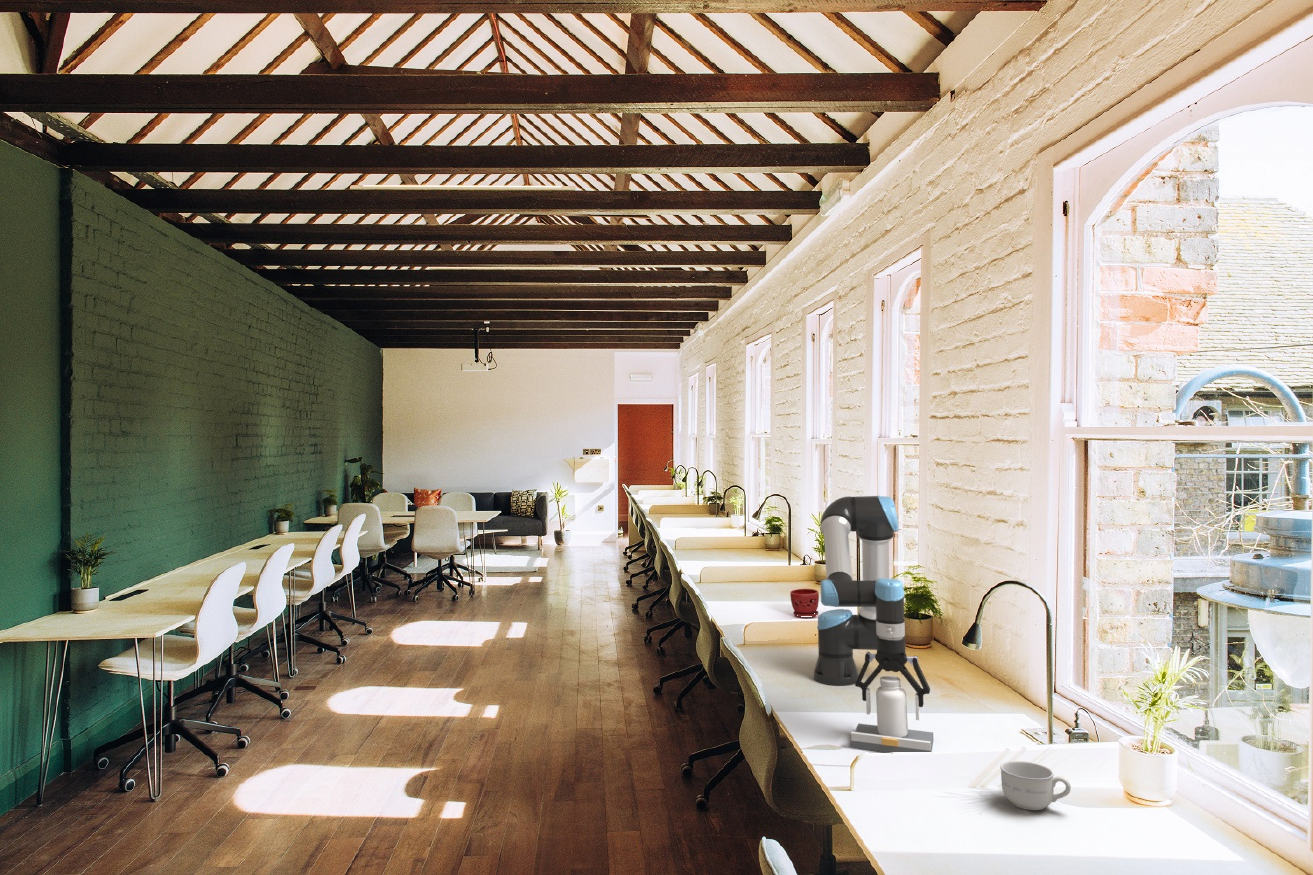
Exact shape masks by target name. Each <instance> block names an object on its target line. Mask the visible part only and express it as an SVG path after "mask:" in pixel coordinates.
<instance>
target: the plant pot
mask: <svg viewBox="0 0 1313 875" xmlns="http://www.w3.org/2000/svg"><path fill="white" fill-rule="evenodd" d="M819 593H820V592H819V590H817V589H813V588H798V589H792V590H791V591H790V593H789V594H790V595H789V596H790V602H791V606H792V609H793V610H794V611H793V615H794V616H795V617H797V618H800V619H811V618H816V617H817V616H818V615H819V611H818V608H819V602H820V601H819V600H820V595H819ZM814 613H815V614H814ZM796 615H798V616H796ZM816 615H817V616H816ZM801 616H812V617H801Z"/></svg>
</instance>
